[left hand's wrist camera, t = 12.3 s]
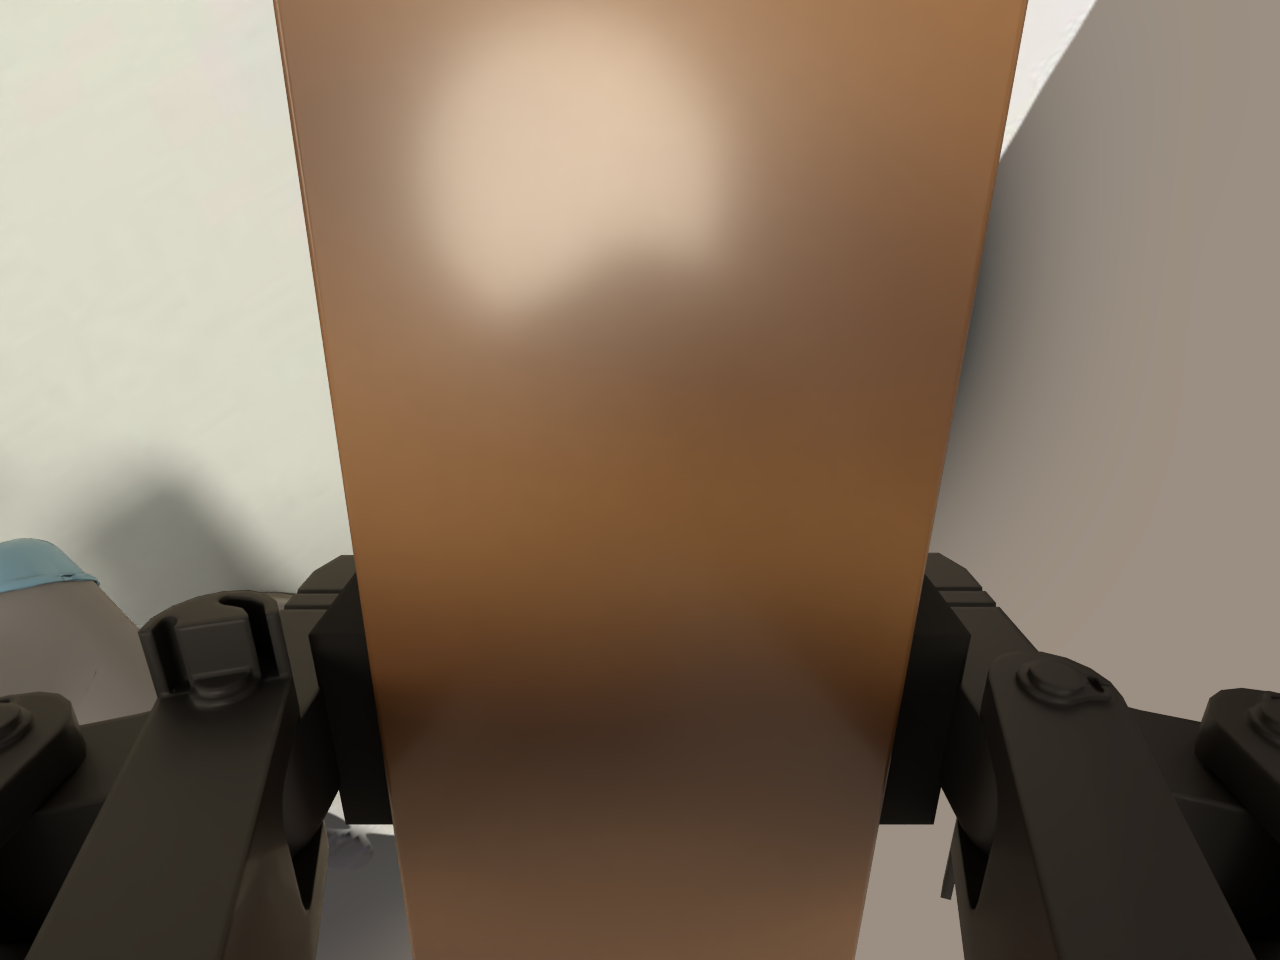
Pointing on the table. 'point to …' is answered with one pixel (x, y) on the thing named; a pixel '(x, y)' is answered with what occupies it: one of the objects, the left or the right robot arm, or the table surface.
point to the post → (642, 438)
